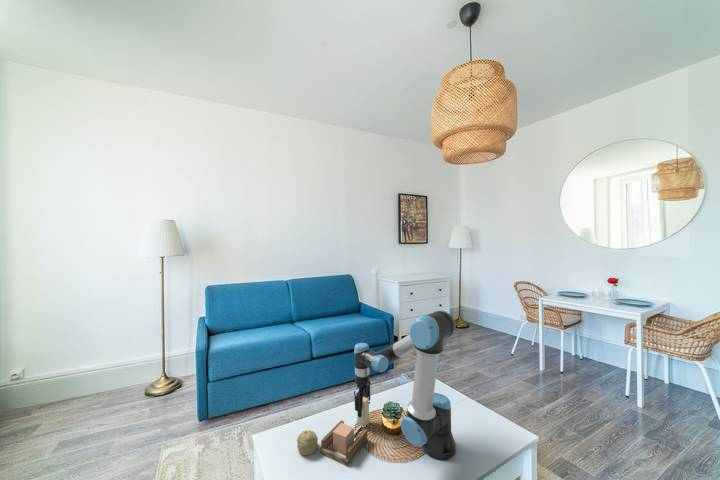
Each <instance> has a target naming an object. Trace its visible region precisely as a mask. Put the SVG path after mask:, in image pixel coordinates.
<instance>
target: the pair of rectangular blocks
mask: <svg viewBox="0 0 720 480" xmlns="http://www.w3.org/2000/svg"><path fill="white" fill-rule="evenodd" d="M369 402H370V401H369V397H368V398H366V397H363V404H362V410H363V423H360V422H358V411H356V419H357V421H356V422H357V424H356V425H357V426H358V425H360V426H358V427H357V428H356V429H355V428H354V427H353V426H351V425H348V424H345V423H344V424H343V423H341V424H340V425H339V426H338V427H337V428H336V429H335V430H334V431H333V443H332V450H334V451H335V452H336V451H337V452H339V453H341V454H343V455H345V456H346V450H347V449H348V448H349V447H350V446H351V444H352V443H353V442H354V441H355V436H356V435H357V434H358V433H359V431H360V430H361V429H362V428H363V427H366V425H367V424H368V423H369V424H370V404H369ZM369 424H368V425H369ZM368 425H367V426H368ZM362 426H363V427H362ZM361 427H362V428H361ZM360 428H361V429H360ZM366 428H367V427H366ZM359 429H360V430H359ZM358 430H359V431H358ZM357 432H358V433H357ZM356 433H357V434H356Z"/></svg>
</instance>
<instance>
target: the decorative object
mask: <svg viewBox="0 0 720 480" xmlns="http://www.w3.org/2000/svg"><path fill="white" fill-rule="evenodd" d="M296 438H297V439H296V444H297V452H298V453H299V455H301V456H303V457H305V456H309V455H312V454H314V453H315V452H316V451H317V449H318V439H319V438H318V435H317V434H316V432H315V431H313V430H310V429H308V430H306V429H305V430H303V431H302V432H300V433H299V434H298V435H297V437H296Z"/></svg>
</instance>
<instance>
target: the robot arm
mask: <svg viewBox="0 0 720 480" xmlns="http://www.w3.org/2000/svg"><path fill="white" fill-rule="evenodd" d="M456 328H457V327H456V320H455V319H454V317H453V316H452V315H451V314H450V313H448V312H447V311H444V310H437V311H434V312H431V313H428V314H425V315H421V316H419V317H417V318H416V319H414V320H413V321H412V322H411V325H410V326H409V334H408V335H406V336H404V337H403V338H401V339H400V340H398V341H396V342H395V343H393V344H391V345H389V346H387V347H385V348H383V349H380V350H378V351H373V350H371V349H370V347H369V344H368V343H365V342H358V343H356V344H355V345H354V351H353V352H354V353H353V354H354V381H355V384H356V391H353V396H354V411H356V412H357V411H358V422H360V423H363V410H362V404H363V397H366V398H369V405H371V381H370V378H371V377H370V369H372V370H373V371H376V372H379V373H384V372H386V370H387V369H388V367H389V365H390V364H392V363H394V362H396V361H398V360H400V359H402V358H403V357H406V356H407V355H408V354H410V353H412V352H414V351H416V354H415V355H416V356H415V357H416V358H415V364H414V367H415V368H414V376H413V377H414V378H413V385H412V395H411V396H412V397H411V401H409V402H408V404H407V408H406V415H405V416H403V417H402V419H400V428H401V432H402V434H403V435H404V438H405V439H406V440H407V441H408V442H409V443H410V444H412V445H413V446H415V447H417V448H422V450H423V451H424V453H425V454H426V455H427V456H429V457H430V458H432V459H435V460H439V461H446V460H450V459H451V458H453V457H454V456H455V455H456V452H457V446H456V445H457V444H456V442H455V439H454V436H453V432H452V405H451V401H450V398H448V397H447V396H446V395H444V394H442V393H439V392H435V388H436V387H435V386H436V380H437V379H436V378H437V369H438V361H439V355H441V354H442V353H443V349H444V343H445V340H447V339H449V338H450V337H451V336H453V334H454V333H455V331H456Z"/></svg>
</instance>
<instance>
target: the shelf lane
mask: <svg viewBox="0 0 720 480" xmlns="http://www.w3.org/2000/svg"><path fill="white" fill-rule="evenodd" d="M341 423H343V424H345V421H344V420H342V419H341V420H340V421H339V422H337V424H336V425H335V426H333V428H332V429H331V430H330V431H329V432H327V434H326V435H325V436H324V437H323V438H322V439H321V440H320V442H321V443H320V448H319V453H320V454H322V455H323V456H326V457H327V458H329V459H332V460H334V461H336V462H338V463H340V464H342V465H345V466H347V467H348V466H349V465H350V464H351V462H352V461H353V460H354V458H355V457H356V456H357V454H359V452H360V451H361V449H362V448H363V446H365V445H366V443H367V442H366V441H368V429H366V428H363V430H362V431H361V433H359V435H358V436H357V437H356V438H355V439H354V442H353V443H352V444H351V446H350V447H349V448H348V449H347V450H346V455H345V457H344V456H343V455H340V454H338V453H336V452H333V451H332V450H330V449H329V448H330V447H331V446H332V445H333V431H334V430H335V429H336V428H337V427H338V426H339V425H340V424H341Z"/></svg>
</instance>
